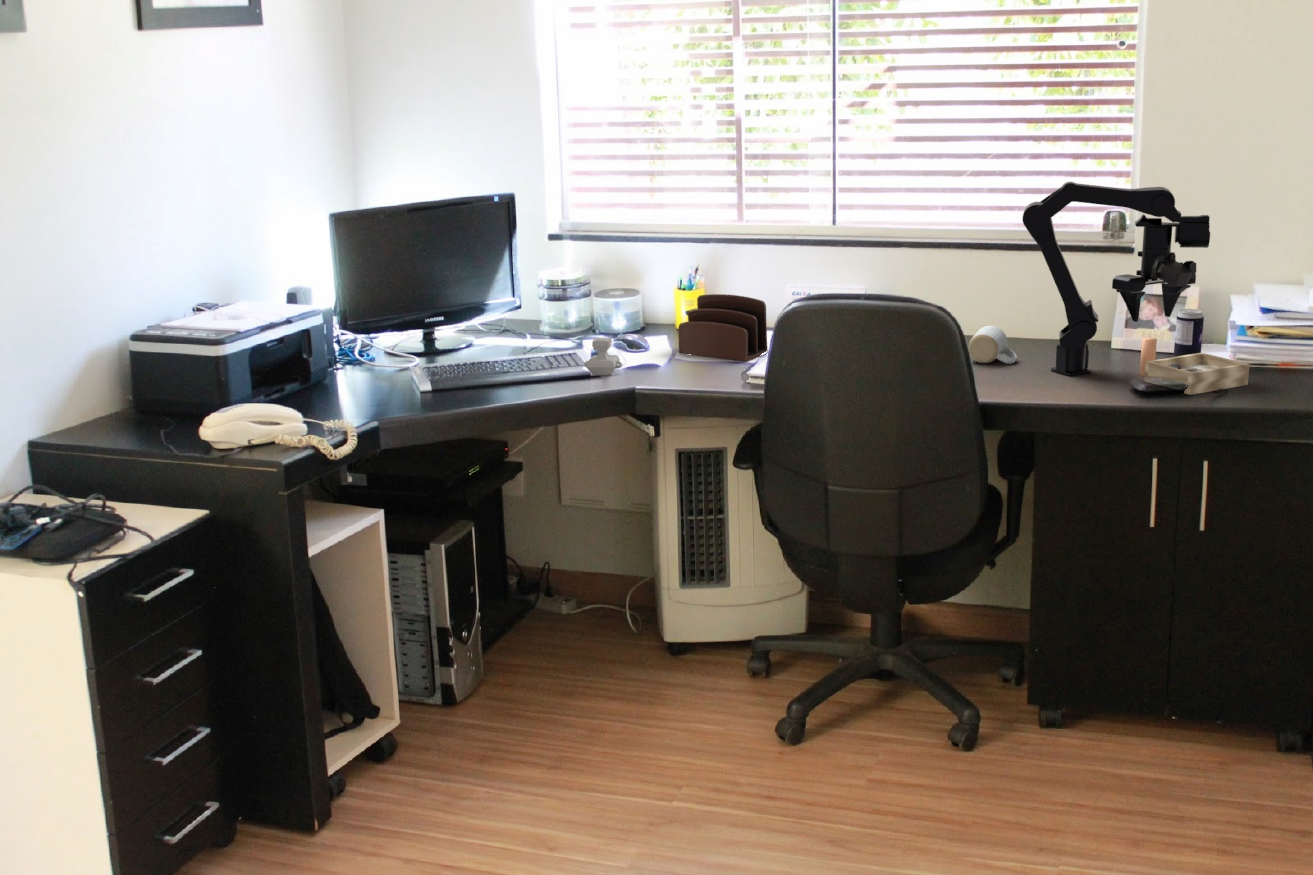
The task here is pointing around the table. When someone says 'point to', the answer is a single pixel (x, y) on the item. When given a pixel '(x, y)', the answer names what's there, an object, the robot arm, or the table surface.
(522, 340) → the table surface
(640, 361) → the table surface
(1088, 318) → the robot arm
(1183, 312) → the beverage can
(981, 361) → the ceramic mug
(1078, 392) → the table surface
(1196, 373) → the tray
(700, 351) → the letter holder
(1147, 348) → the peg
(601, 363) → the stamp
